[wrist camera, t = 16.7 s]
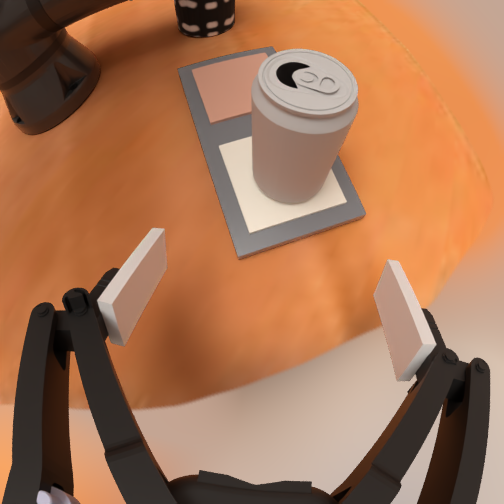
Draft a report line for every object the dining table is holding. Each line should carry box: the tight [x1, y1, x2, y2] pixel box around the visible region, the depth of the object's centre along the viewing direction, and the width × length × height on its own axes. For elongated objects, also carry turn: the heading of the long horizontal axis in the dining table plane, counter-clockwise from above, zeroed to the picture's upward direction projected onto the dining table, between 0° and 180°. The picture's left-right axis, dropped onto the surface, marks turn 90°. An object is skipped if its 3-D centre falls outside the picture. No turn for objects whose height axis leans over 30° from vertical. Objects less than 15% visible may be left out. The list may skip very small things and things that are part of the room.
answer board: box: [178, 47, 366, 259], centre depth 28 cm, size 24×12×2 cm, turn 19°
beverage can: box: [251, 49, 358, 203], centre depth 20 cm, size 6×6×12 cm
